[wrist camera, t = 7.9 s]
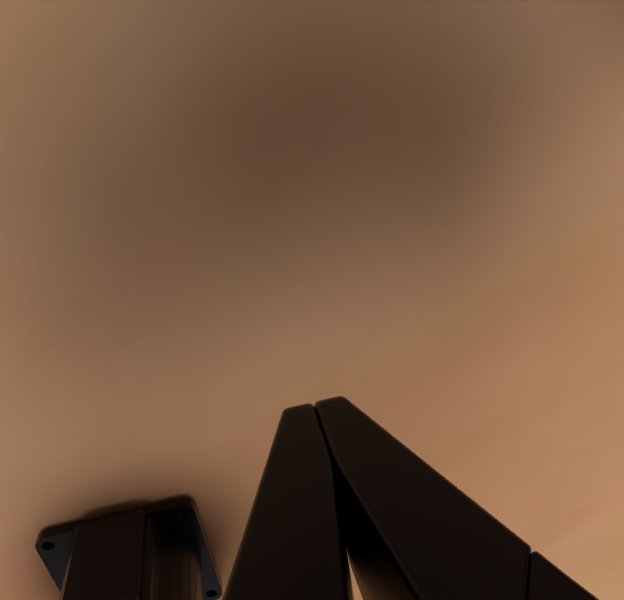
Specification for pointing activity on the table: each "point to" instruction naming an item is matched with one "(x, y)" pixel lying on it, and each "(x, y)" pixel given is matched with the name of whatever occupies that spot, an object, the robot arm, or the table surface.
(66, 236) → the table surface
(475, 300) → the table surface
